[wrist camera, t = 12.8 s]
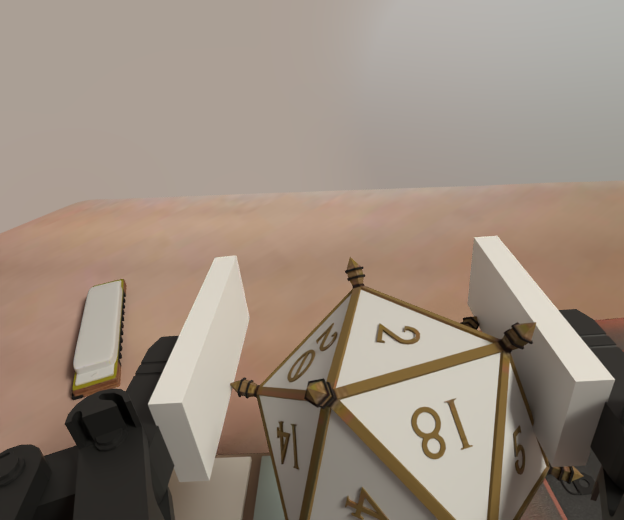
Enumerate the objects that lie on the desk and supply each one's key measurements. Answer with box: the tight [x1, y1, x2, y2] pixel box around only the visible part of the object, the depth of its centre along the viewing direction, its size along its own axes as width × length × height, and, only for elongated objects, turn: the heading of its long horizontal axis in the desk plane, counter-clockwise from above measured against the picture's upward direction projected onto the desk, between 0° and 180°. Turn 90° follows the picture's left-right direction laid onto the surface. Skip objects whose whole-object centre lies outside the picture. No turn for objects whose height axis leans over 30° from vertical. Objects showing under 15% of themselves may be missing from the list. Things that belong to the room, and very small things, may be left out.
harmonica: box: [72, 279, 126, 400], centre depth 35 cm, size 15×3×2 cm, turn 20°
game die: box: [230, 257, 583, 520], centre depth 12 cm, size 9×8×10 cm
